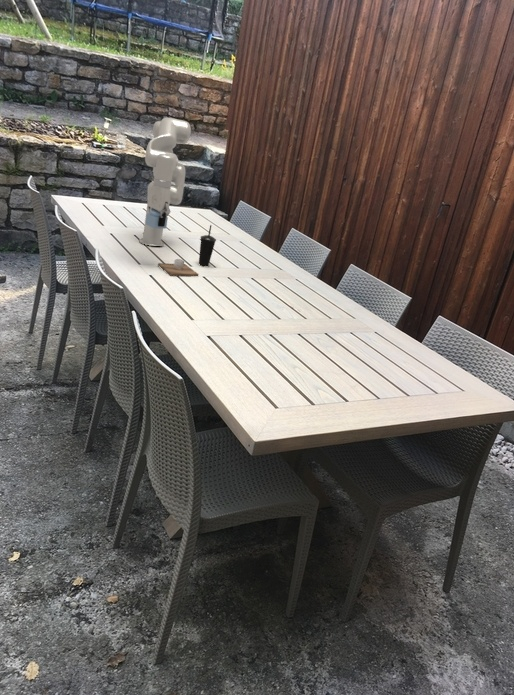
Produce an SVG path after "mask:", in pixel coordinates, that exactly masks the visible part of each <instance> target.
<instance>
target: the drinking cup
mask: <svg viewBox="0 0 514 695" xmlns="http://www.w3.org/2000/svg"><path fill="white" fill-rule="evenodd" d="M208 230H209V231H208V235H207V234H204V235H201V236H200V246H199V259H198V265H199V264H200V265H199V266H201V265H202V266H201V267H204V266H208V267H209V265H210V263H211V258H212V254H213V251H214V248H215V244H216V242H217V239H216V238H215V237H214V236H212V235H211V230H212V225H211V224H210V226H209V229H208Z"/></svg>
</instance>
